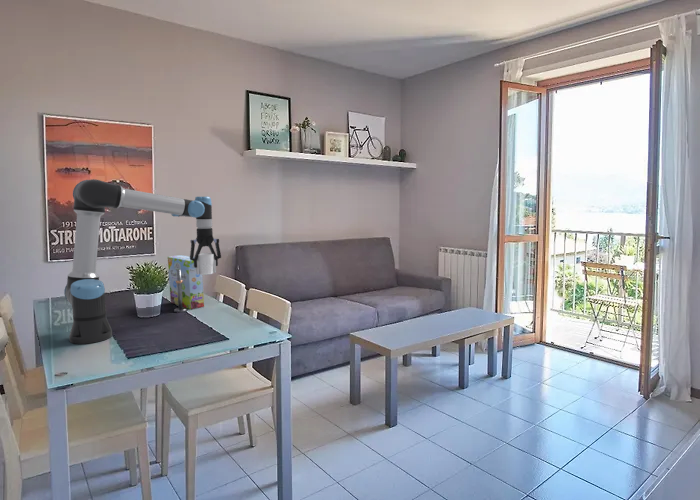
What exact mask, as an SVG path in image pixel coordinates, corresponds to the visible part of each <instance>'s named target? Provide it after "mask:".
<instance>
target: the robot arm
mask: <svg viewBox="0 0 700 500" xmlns="http://www.w3.org/2000/svg"><path fill="white" fill-rule="evenodd" d="M72 198H73V210H72V211H73V212H75V213H76V224H75V225H76V226H75V236H74V237H75V239H74V249H73V258H72V259H73V261H72V271H71V272H69V273H68V274H67V278H66V279H67V280H66V286H65V287H64V290H63V291H64V292H63V293H64V297H65V300H66V301H67V302H68V304H70V306H71V311H72V326H71V328H70V331H69V336H68V338H69V342H70V343H72V344H75V345H76V344H78V345H80V344H81V345H82V344H83V345H84V344H85V345H86V344H93V343H98V342H102V341H106V340H108V339H110V338H112V337H113V330H112V327H111V325H110V323H109V321H108V318H107V308H106V293H105V291H106V288H105V285H104V282H103V281H102V280H100V275H99V274H98V273H97V271H96V270H97V263H98V262H97V261H98V247H99V238H100V237H99V236H100V227H101V217H102V216H104V214H106V208H111V209H119V208H121V207H122V208H129V209H135V210H143V211H150V212H155V213H164V214H170V215H171V216H172V217H178V218H180V217H187V218H195V220H196V221H195V222H196V223H195V224H196V238H195V239H191V240H190V251H189V257H190V260H193V261H194V267H195V268H196V274H199V261H197V259H198V257H199V256H198V255H199V254H201V250H202V249H203V248H205V247H208V248H209V250H210V253H212V254H214V268H213V274H216V273H217V267H218V266H219V265H218V264H219V262H218V260H220V259H222V254H221V249H220V239H219V238H214V236H213V234H214V233H213V231H214V230H213V228H212V227H213V214H212V213H213V209H212V207H213V203H212V198H211V197H210V196H195V199H194V200H192V199H185V198H181V197H174V196H168V195H163V194H158V193H157V194H156V193H151V192H146V191H140V190H139V191H138V190H133V189H129V188H124V187H123V186H122V185H120V184H115V183H110V182H106V181H103V180H101V179H95V178H93V179H91V178H90V179H85V180H82V181H79V182H78V183H77V184H76V185H75V187H74V188H73V190H72ZM213 243H214V244H215V249H216V250H215V249H214V247H213ZM196 244H198V245H197V249H196V252H195V245H196ZM193 257H194V258H193Z"/></svg>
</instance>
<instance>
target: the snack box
mask: <svg viewBox="0 0 700 500" xmlns="http://www.w3.org/2000/svg"><path fill="white" fill-rule="evenodd" d="M194 257H195V256H194ZM194 257H193V258H194ZM197 261H198V259H197ZM167 266H168V267H167V269H168V280H169V281H168V282H169V297H170V298H169V299H170V303H171V304H174V305H177V306H178V288H177V283H176V280H177V270H181V280H183V283H182V303H183V308H187V309H189V310H194V309H199V308H203V307H205V298H204V297H205V295H204V275H200V274H196V268H195V267H194V261H193V260H190V255H189V256H188V255H184V254H183V255H182V254H180V255H179V254H177V255H171V256H167Z"/></svg>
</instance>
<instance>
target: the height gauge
mask: <svg viewBox="0 0 700 500" xmlns="http://www.w3.org/2000/svg"><path fill="white" fill-rule="evenodd" d="M176 283H177V288H178V305H177V306H178V308H177V307H176V308H174V313H177V312H178V313H185V312H188V308H186V307H183V303H182V283H183V280H181V270H177V280H176Z"/></svg>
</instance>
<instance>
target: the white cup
mask: <svg viewBox="0 0 700 500" xmlns="http://www.w3.org/2000/svg"><path fill="white" fill-rule="evenodd" d="M198 256H199V257H198V261H199V274H200V275H203V276H204V275H205V276H206V275H207V276H208V275H214V272H213V268H214V254H212V253H211V252H206V253H205V252H204V253H201V252H200V254H199V255H198Z"/></svg>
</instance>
